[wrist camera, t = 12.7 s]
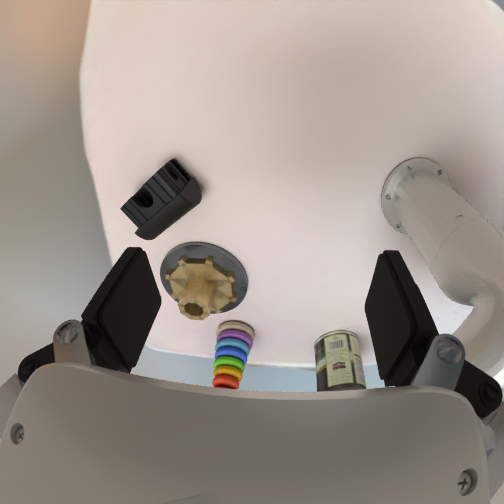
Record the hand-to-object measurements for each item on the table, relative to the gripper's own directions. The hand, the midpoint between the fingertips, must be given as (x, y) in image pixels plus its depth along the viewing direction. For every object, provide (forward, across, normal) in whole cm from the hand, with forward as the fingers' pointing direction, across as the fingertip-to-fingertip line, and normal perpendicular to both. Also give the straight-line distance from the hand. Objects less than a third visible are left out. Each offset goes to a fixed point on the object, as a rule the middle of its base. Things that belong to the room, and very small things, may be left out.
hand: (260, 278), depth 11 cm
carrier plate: (+28, +13, +25) cm, 40 cm away
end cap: (+29, +16, +8) cm, 34 cm away
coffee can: (+28, -14, +44) cm, 54 cm away
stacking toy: (+28, +8, +40) cm, 50 cm away
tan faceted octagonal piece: (+27, +13, +25) cm, 39 cm away
